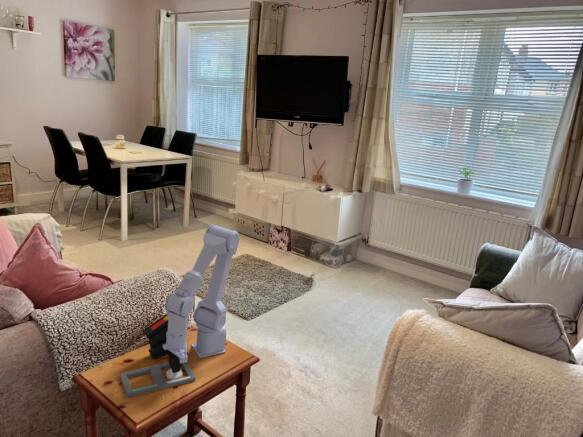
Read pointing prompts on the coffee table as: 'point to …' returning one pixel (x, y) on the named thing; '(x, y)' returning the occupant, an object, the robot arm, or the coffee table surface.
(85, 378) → the coffee table surface
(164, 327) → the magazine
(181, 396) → the coffee table surface
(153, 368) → the port panel
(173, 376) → the chess piece
